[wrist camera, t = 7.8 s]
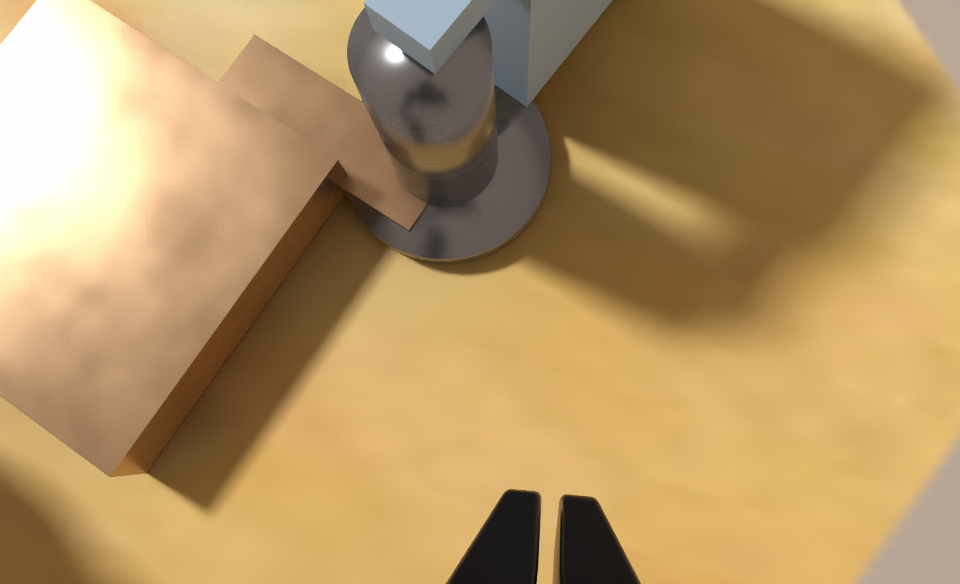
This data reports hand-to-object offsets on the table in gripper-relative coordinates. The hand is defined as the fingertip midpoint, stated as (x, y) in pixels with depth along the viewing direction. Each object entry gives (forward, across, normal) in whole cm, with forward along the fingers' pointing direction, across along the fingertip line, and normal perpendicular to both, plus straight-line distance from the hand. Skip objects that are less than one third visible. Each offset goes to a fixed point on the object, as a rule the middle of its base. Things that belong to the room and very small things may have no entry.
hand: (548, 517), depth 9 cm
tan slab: (+14, +9, +3) cm, 17 cm away
